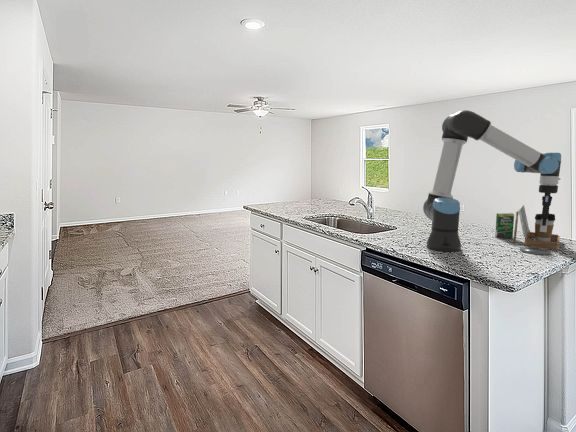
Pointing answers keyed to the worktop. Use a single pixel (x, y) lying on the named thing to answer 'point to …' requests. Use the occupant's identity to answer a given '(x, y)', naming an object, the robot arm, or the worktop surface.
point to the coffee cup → (547, 235)
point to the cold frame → (533, 234)
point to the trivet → (535, 250)
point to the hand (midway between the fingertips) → (543, 230)
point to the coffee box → (504, 225)
